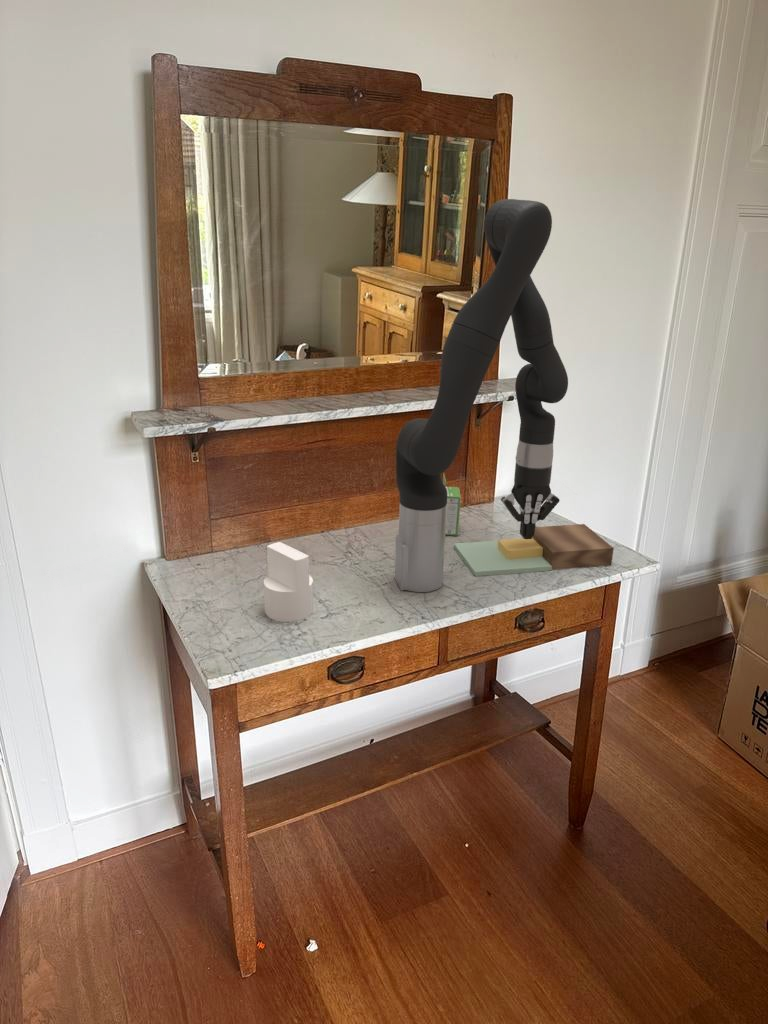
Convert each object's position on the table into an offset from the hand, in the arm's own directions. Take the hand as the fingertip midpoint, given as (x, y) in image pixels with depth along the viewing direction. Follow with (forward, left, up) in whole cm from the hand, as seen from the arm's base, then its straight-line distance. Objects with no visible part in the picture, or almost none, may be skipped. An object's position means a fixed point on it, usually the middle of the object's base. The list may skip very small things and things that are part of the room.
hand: (526, 537), depth 164 cm
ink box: (-12, +18, -5) cm, 22 cm away
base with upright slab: (-53, -15, -5) cm, 55 cm away
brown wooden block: (+10, 0, -5) cm, 11 cm away
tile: (-1, +1, -4) cm, 4 cm away
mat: (-5, 0, -5) cm, 7 cm away
